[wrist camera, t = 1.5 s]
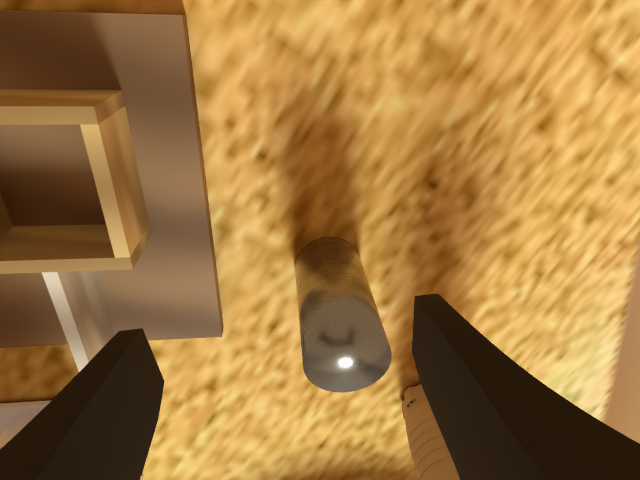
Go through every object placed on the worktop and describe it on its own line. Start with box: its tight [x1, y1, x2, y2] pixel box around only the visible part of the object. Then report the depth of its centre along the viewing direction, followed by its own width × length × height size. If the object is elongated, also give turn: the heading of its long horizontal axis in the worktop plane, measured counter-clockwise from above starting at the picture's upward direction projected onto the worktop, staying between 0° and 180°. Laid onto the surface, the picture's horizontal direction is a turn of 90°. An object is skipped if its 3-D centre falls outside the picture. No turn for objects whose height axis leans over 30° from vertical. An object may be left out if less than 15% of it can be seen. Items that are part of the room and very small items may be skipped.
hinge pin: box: [295, 237, 392, 392], centre depth 20 cm, size 4×4×7 cm
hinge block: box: [0, 10, 223, 372], centre depth 18 cm, size 16×16×4 cm
